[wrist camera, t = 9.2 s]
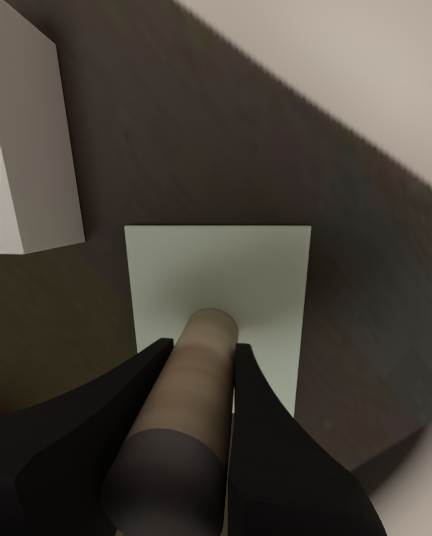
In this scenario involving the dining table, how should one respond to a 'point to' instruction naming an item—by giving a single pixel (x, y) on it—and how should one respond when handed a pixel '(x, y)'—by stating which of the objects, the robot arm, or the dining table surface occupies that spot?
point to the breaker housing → (34, 144)
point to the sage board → (224, 288)
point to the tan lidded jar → (179, 439)
